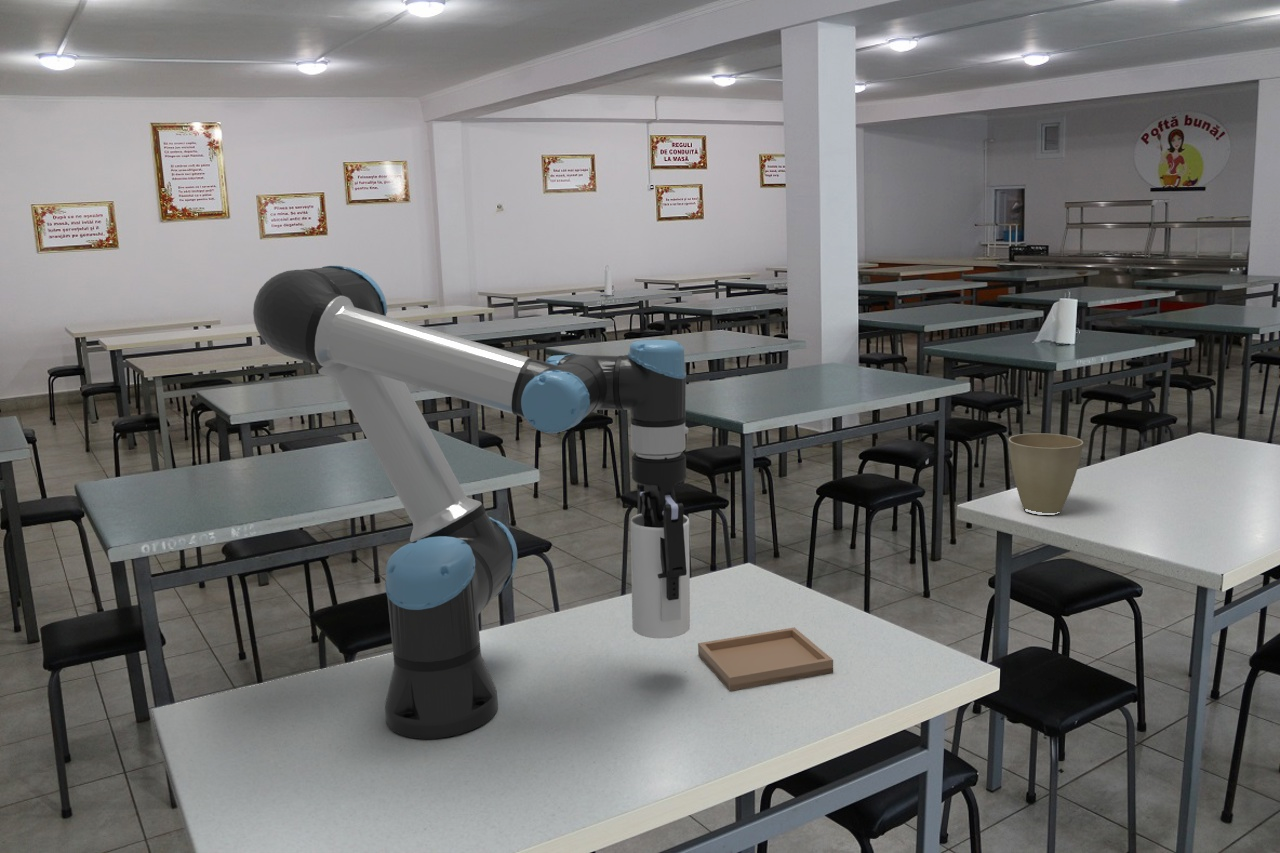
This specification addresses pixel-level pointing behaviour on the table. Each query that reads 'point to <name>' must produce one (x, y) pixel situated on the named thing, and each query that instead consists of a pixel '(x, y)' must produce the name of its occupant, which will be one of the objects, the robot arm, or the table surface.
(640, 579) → the cup
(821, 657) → the tray
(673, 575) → the robot arm
